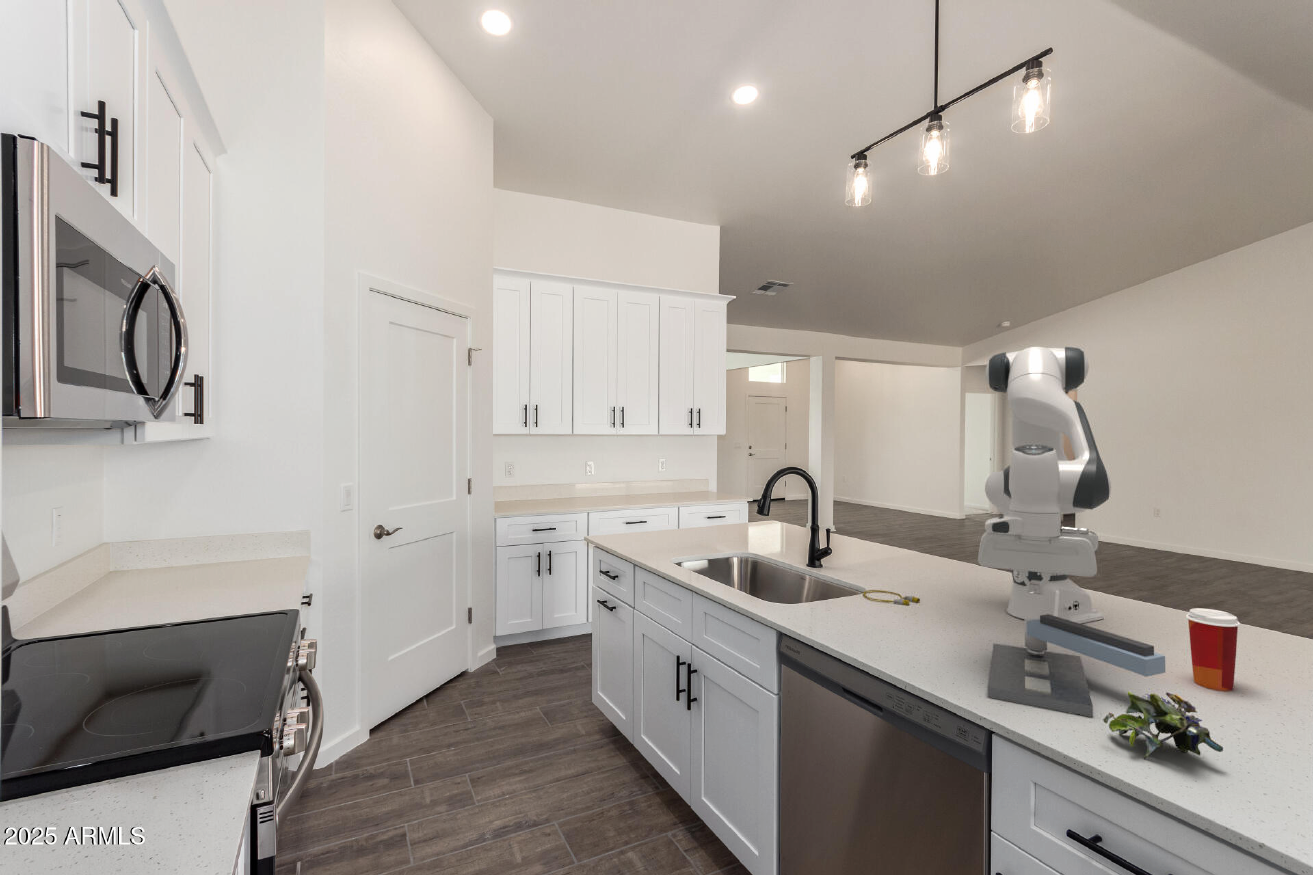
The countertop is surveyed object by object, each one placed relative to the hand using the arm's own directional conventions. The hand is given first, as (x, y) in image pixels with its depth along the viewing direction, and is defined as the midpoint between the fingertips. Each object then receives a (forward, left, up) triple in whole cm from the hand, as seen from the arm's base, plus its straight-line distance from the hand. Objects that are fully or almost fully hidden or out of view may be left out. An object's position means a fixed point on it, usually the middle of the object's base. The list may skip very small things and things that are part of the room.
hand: (1035, 593), depth 120 cm
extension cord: (-3, -57, -18) cm, 60 cm away
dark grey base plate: (+1, +1, -17) cm, 17 cm away
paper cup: (-30, +10, -17) cm, 36 cm away
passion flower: (+4, +28, -17) cm, 33 cm away
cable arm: (-7, +4, -14) cm, 16 cm away
